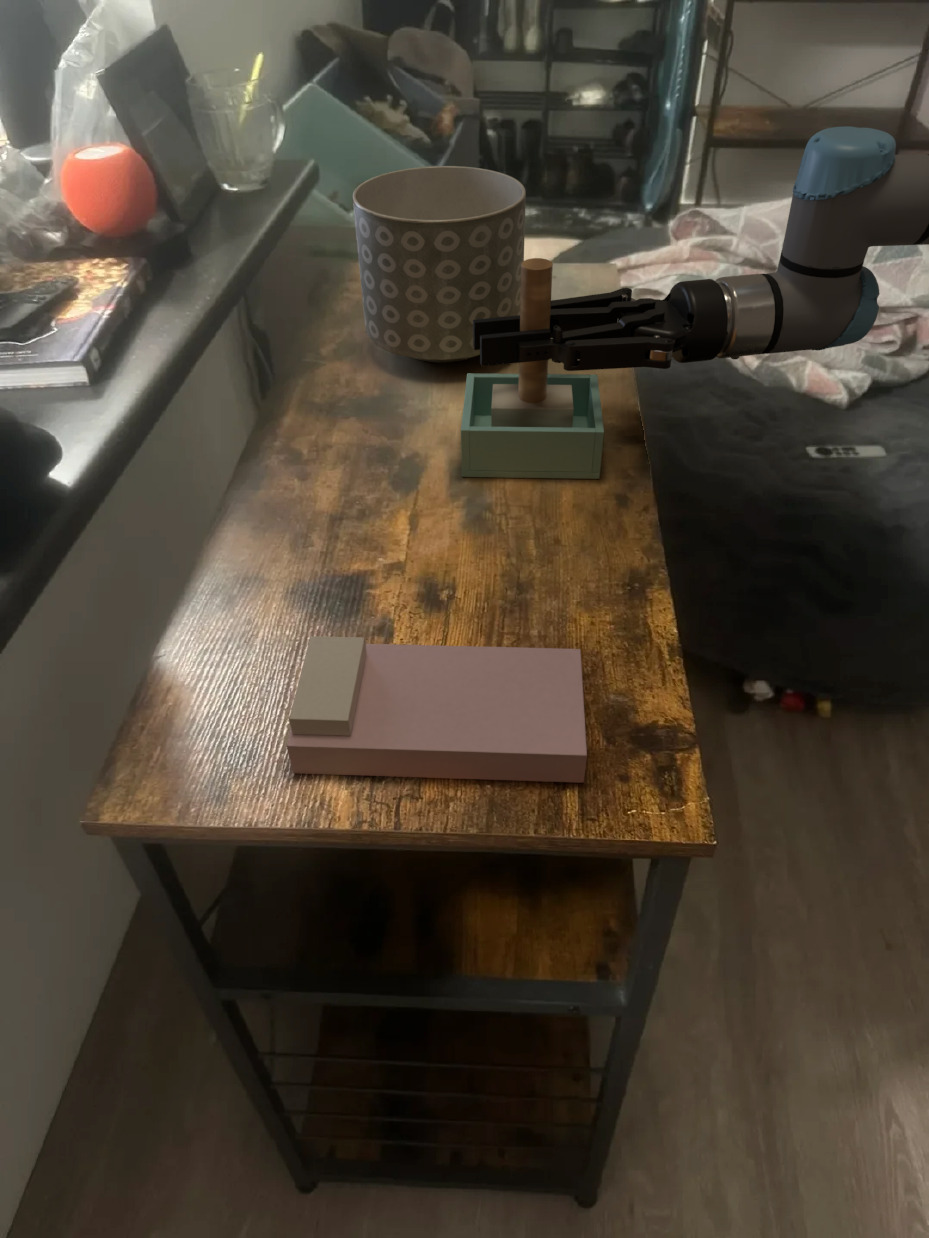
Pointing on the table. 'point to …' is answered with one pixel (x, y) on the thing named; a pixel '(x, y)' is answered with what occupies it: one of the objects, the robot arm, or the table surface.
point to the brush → (533, 364)
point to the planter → (438, 257)
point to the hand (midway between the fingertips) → (477, 343)
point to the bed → (439, 712)
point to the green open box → (532, 434)
